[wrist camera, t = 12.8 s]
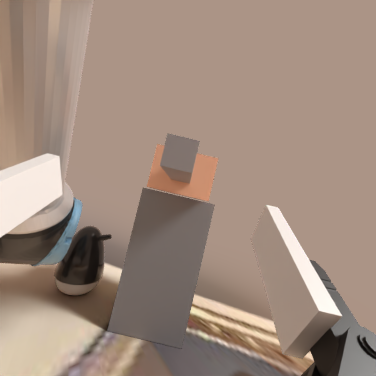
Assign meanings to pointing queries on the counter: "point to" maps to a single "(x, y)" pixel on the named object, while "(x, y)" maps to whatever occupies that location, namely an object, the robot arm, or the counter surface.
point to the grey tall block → (161, 268)
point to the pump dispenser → (82, 262)
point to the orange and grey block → (182, 168)
